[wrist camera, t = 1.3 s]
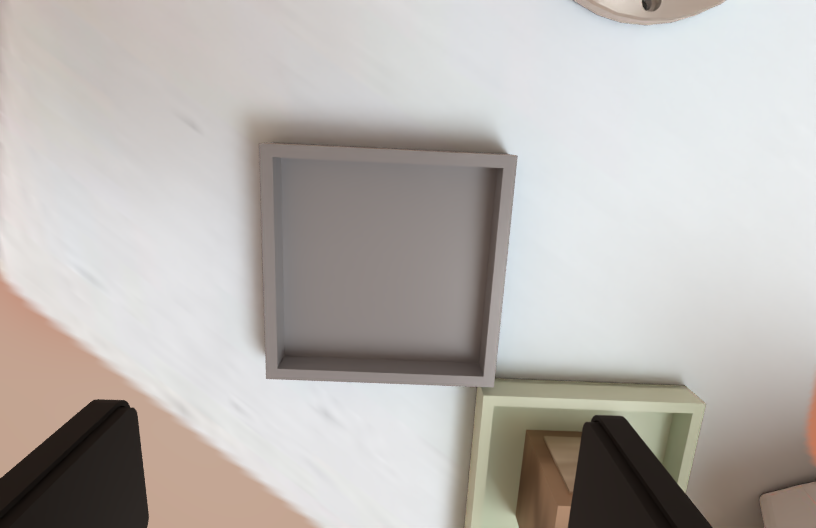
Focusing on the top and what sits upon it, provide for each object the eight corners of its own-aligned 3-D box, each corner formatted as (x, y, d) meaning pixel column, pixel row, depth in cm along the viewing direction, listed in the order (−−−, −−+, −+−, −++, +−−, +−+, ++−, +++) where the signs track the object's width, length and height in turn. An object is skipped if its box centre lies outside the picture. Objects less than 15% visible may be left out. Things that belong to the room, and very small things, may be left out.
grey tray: (270, 142, 24) (259, 143, 22) (508, 154, 25) (517, 155, 23) (275, 361, 27) (266, 378, 25) (487, 369, 28) (493, 387, 26)
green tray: (477, 377, 28) (483, 395, 26) (684, 385, 28) (706, 403, 26) (462, 548, 31) (466, 576, 29) (648, 554, 31) (665, 582, 29)
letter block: (526, 427, 28) (559, 505, 22) (628, 431, 28) (688, 509, 22) (515, 515, 30) (543, 610, 24) (612, 518, 30) (664, 614, 24)
